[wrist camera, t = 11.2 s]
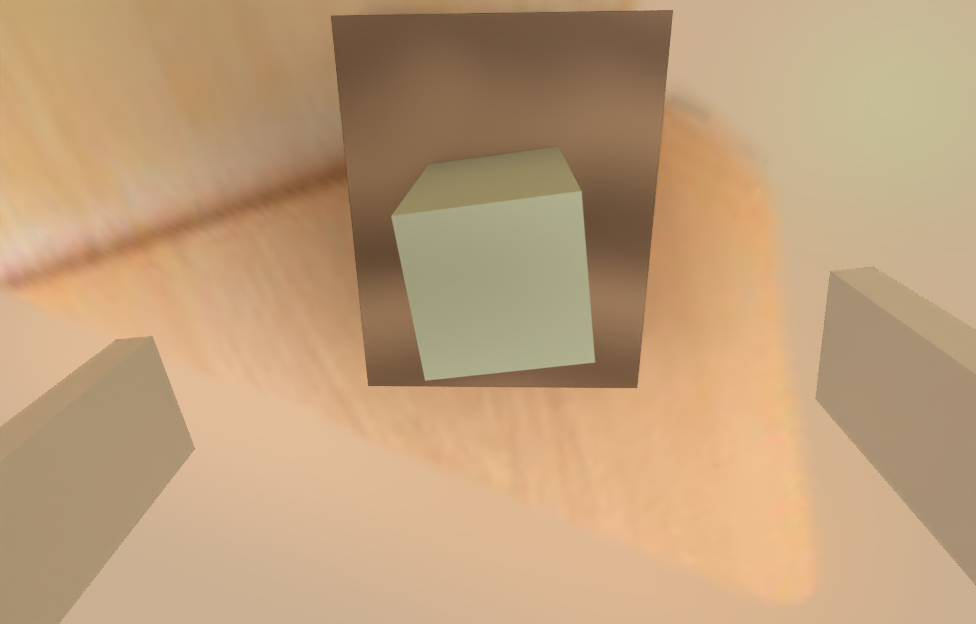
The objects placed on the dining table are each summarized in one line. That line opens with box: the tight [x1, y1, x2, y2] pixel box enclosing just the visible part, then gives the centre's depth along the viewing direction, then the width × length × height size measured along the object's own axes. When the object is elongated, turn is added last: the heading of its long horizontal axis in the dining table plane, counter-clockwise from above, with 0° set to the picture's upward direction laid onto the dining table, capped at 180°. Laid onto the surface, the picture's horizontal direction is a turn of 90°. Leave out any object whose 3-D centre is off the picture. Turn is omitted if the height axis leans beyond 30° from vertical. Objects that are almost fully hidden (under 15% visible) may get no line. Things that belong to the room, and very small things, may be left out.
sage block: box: [391, 147, 595, 381], centre depth 20 cm, size 5×5×8 cm
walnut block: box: [331, 10, 673, 388], centre depth 26 cm, size 15×12×5 cm
